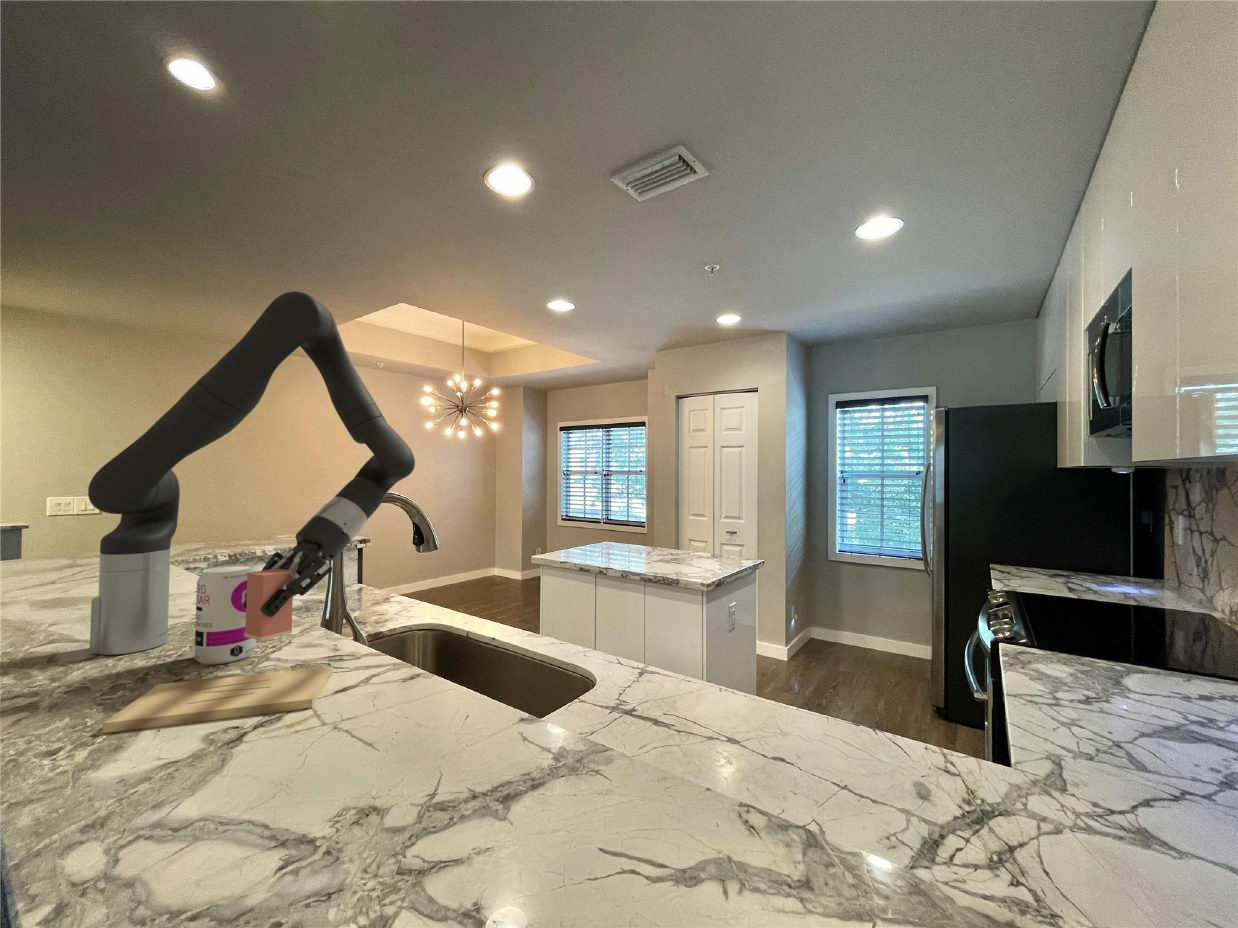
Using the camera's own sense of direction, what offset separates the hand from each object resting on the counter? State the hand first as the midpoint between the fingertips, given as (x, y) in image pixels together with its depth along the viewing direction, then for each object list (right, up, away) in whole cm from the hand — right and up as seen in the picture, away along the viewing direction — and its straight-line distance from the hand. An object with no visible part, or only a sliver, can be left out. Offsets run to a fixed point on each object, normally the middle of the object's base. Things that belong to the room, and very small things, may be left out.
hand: (256, 611), depth 79 cm
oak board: (+3, -9, -9) cm, 14 cm away
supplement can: (-10, -10, +7) cm, 16 cm away
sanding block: (+1, -4, +2) cm, 5 cm away
